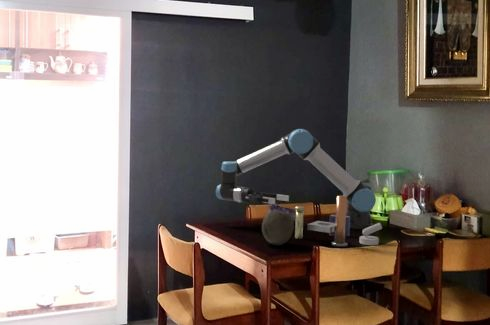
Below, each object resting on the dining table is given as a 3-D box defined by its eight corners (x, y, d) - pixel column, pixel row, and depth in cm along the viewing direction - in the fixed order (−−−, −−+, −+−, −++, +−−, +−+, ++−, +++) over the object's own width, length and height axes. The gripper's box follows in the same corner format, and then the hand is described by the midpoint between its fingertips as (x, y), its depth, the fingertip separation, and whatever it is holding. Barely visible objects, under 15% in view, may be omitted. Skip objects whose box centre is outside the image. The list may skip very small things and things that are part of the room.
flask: (349, 236, 286) (350, 212, 285) (349, 237, 283) (350, 213, 282) (329, 234, 289) (330, 210, 288) (328, 235, 286) (329, 211, 285)
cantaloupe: (295, 248, 256) (296, 213, 255) (262, 247, 255) (264, 213, 254) (290, 241, 270) (291, 208, 269) (259, 240, 269) (260, 208, 268)
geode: (259, 219, 324) (261, 201, 324) (275, 220, 330) (277, 202, 331) (282, 224, 307) (284, 205, 307) (299, 225, 314) (301, 206, 314)
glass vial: (302, 236, 280) (303, 206, 279) (304, 238, 276) (305, 207, 275) (293, 236, 280) (294, 206, 279) (295, 238, 276) (296, 207, 274)
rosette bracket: (306, 242, 268) (308, 194, 266) (317, 238, 277) (319, 192, 275) (341, 248, 259) (344, 198, 257) (351, 244, 268) (353, 195, 266)
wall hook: (385, 224, 267) (363, 224, 266) (384, 245, 268) (362, 245, 267) (379, 220, 275) (358, 220, 275) (378, 241, 276) (357, 240, 275)
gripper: (256, 199, 306) (293, 204, 294) (230, 205, 285) (268, 210, 273) (257, 185, 305) (294, 189, 294) (230, 189, 284) (269, 194, 273)
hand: (281, 199), depth 284 cm, fingers open, 13 cm apart
